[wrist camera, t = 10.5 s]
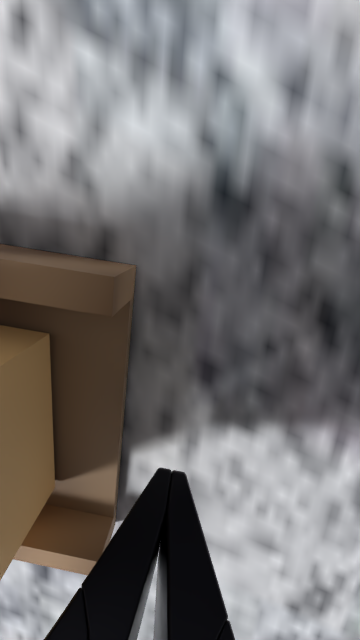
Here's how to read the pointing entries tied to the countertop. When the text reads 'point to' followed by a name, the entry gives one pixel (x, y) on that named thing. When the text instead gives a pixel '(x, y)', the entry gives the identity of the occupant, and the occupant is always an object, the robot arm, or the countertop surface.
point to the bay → (75, 392)
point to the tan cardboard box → (24, 435)
